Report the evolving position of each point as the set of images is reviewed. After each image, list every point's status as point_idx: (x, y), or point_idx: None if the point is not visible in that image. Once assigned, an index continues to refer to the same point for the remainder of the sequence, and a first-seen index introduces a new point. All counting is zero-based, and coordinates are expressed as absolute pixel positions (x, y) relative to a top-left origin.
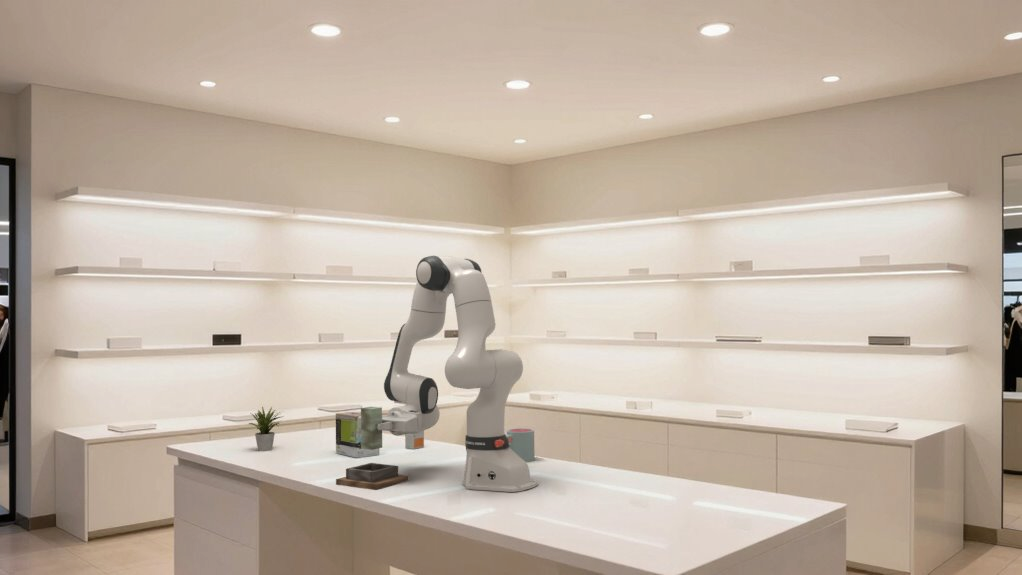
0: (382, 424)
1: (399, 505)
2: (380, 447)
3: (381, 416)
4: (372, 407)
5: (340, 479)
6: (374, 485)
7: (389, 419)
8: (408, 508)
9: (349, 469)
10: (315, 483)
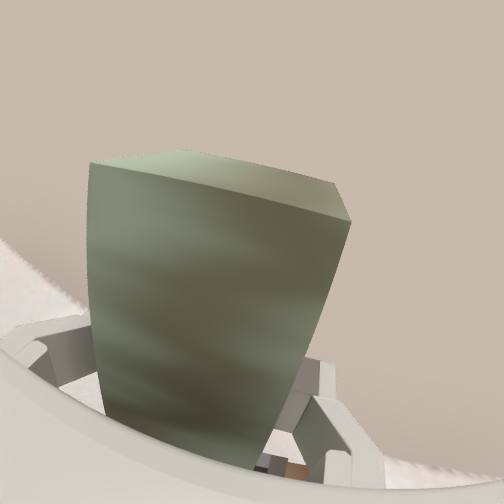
0: (84, 320)
1: (52, 291)
2: None
3: (94, 289)
4: (241, 177)
5: (291, 465)
6: None
7: (2, 353)
8: (39, 278)
9: (267, 454)
10: None
